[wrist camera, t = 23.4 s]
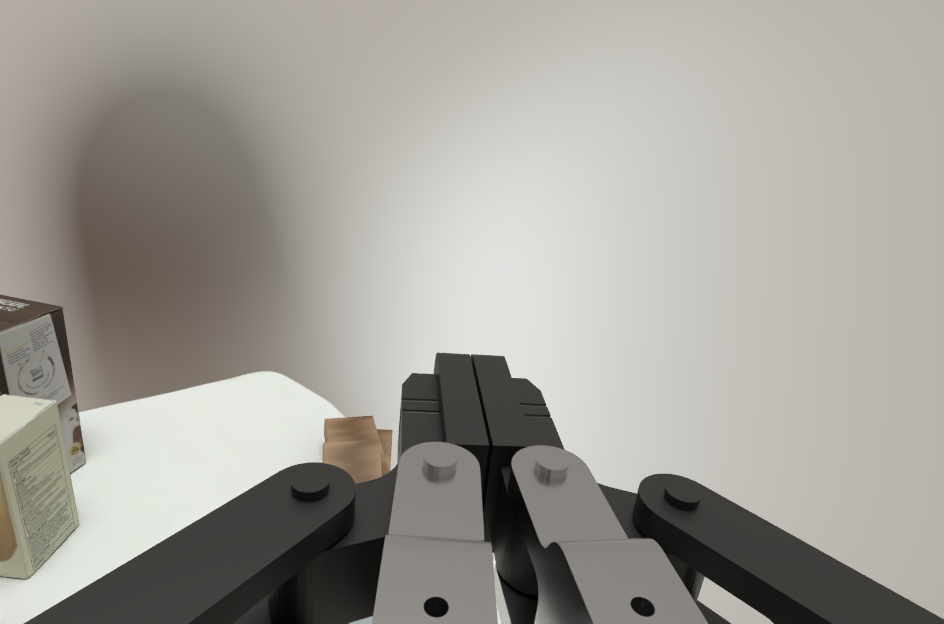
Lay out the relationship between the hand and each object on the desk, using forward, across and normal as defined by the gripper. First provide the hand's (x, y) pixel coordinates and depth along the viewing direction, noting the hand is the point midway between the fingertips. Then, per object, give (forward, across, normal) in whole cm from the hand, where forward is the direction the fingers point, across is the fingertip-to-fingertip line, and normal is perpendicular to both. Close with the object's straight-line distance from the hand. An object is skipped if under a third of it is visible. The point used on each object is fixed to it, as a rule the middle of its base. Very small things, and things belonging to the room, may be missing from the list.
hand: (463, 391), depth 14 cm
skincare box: (+29, +29, +32) cm, 52 cm away
